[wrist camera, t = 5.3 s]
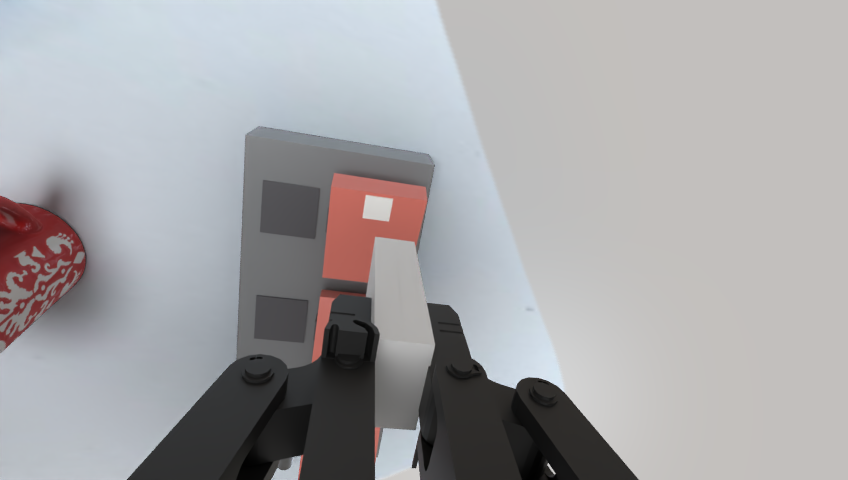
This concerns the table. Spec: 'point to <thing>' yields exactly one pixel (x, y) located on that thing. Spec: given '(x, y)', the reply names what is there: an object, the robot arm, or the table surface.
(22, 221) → the mug
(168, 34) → the table surface
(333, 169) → the power strip
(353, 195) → the block
